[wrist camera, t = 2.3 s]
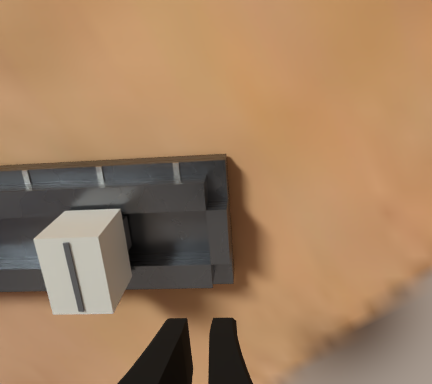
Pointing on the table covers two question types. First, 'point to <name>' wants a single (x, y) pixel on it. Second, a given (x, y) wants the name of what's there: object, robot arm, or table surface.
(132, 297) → the table surface
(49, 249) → the fader knob
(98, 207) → the console
